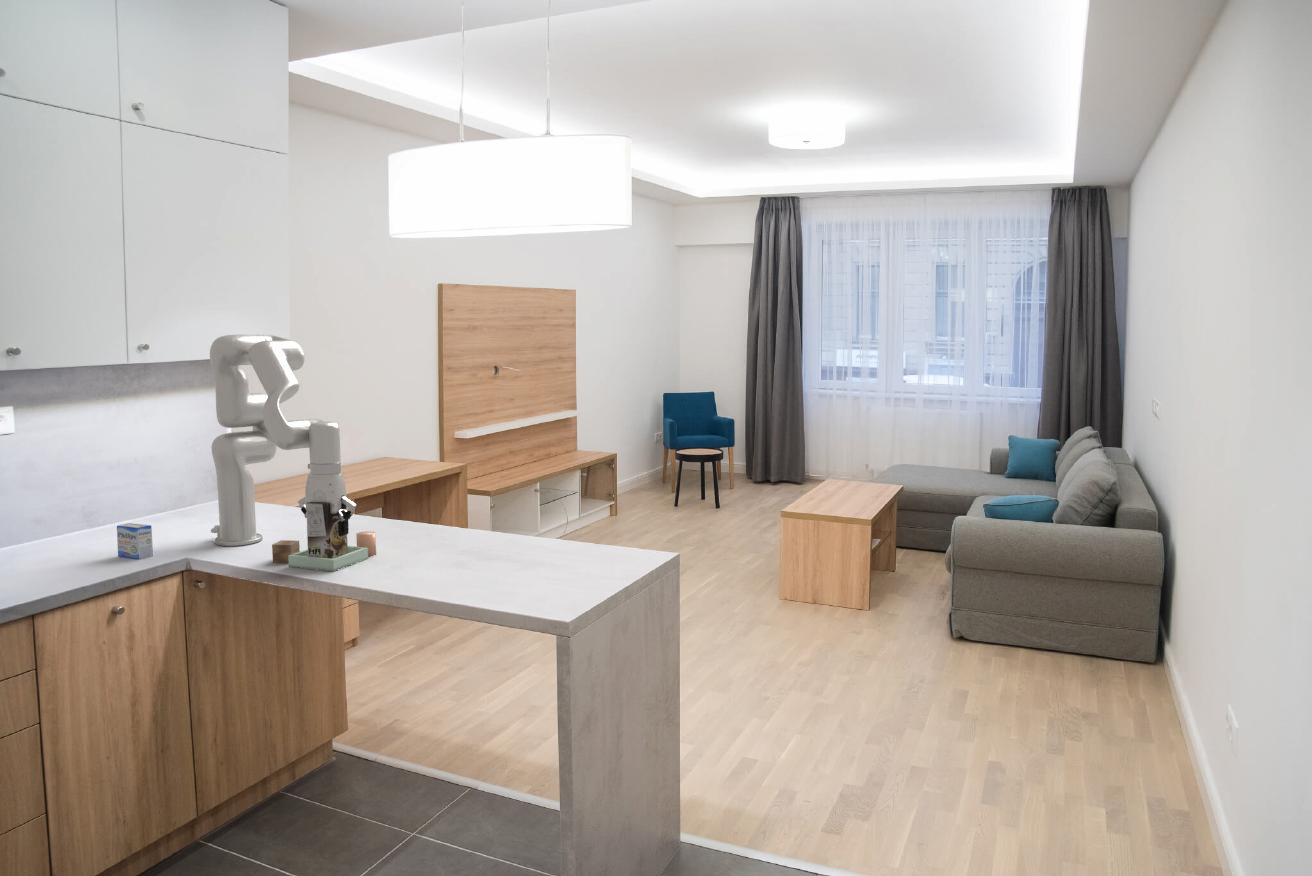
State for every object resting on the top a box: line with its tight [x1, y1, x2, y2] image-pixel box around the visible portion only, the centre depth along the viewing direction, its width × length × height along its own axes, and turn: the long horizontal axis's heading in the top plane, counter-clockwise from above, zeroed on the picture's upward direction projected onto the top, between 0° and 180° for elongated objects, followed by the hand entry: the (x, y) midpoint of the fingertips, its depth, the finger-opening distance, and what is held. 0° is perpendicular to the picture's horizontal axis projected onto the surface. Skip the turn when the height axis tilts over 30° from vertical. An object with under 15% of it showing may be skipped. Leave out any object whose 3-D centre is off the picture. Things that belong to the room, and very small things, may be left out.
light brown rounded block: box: [356, 530, 377, 558], centre depth 246 cm, size 5×5×6 cm
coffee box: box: [306, 502, 349, 559], centre depth 237 cm, size 9×6×16 cm
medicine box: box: [116, 522, 154, 560], centre depth 243 cm, size 8×4×9 cm, turn 70°
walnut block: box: [271, 539, 301, 564], centre depth 239 cm, size 5×5×5 cm
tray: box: [288, 545, 369, 572], centre depth 238 cm, size 14×14×3 cm
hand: (328, 533), depth 237 cm, fingers open, 9 cm apart
